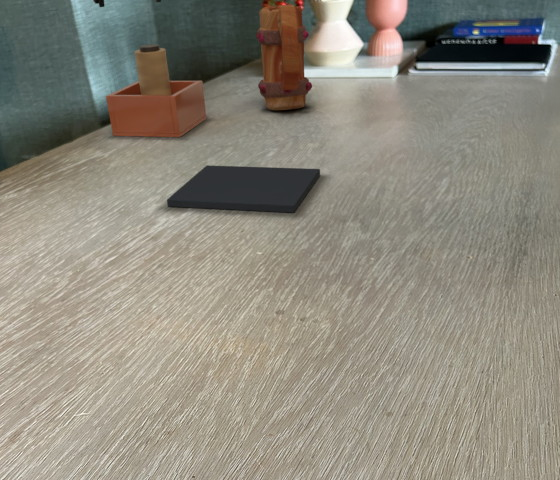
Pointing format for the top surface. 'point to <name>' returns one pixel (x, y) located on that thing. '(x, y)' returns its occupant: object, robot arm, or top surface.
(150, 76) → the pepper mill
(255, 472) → the top surface
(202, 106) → the terracotta open box
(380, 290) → the top surface
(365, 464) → the top surface
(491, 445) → the top surface
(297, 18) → the mug
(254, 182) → the mat
